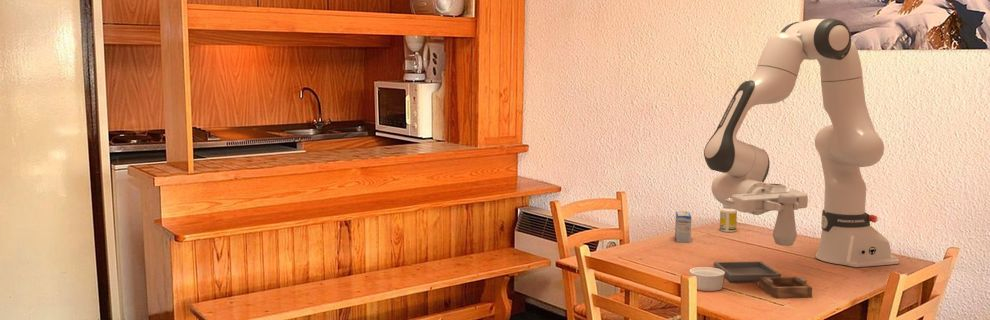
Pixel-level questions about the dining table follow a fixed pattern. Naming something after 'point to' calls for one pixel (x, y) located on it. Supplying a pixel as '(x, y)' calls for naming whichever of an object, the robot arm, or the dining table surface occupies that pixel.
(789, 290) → the tray
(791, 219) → the salt shaker
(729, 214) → the supplement bottle
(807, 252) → the dining table surface
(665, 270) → the dining table surface
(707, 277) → the ramekin
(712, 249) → the dining table surface
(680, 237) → the medicine box
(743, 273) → the tray
